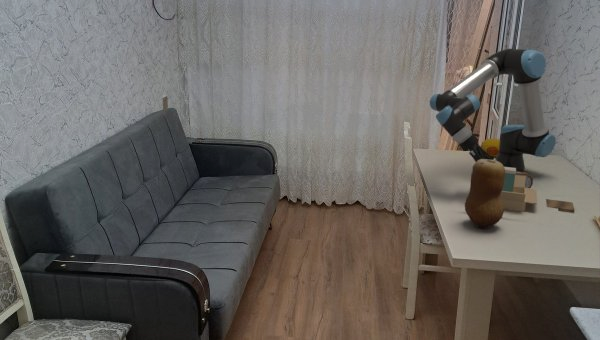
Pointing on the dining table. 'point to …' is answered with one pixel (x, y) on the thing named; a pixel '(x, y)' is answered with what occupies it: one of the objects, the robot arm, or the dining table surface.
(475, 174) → the butternut squash
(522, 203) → the carton
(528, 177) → the tin
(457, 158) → the dining table surface
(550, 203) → the walnut board
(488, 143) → the lantern
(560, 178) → the dining table surface
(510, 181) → the teal box
